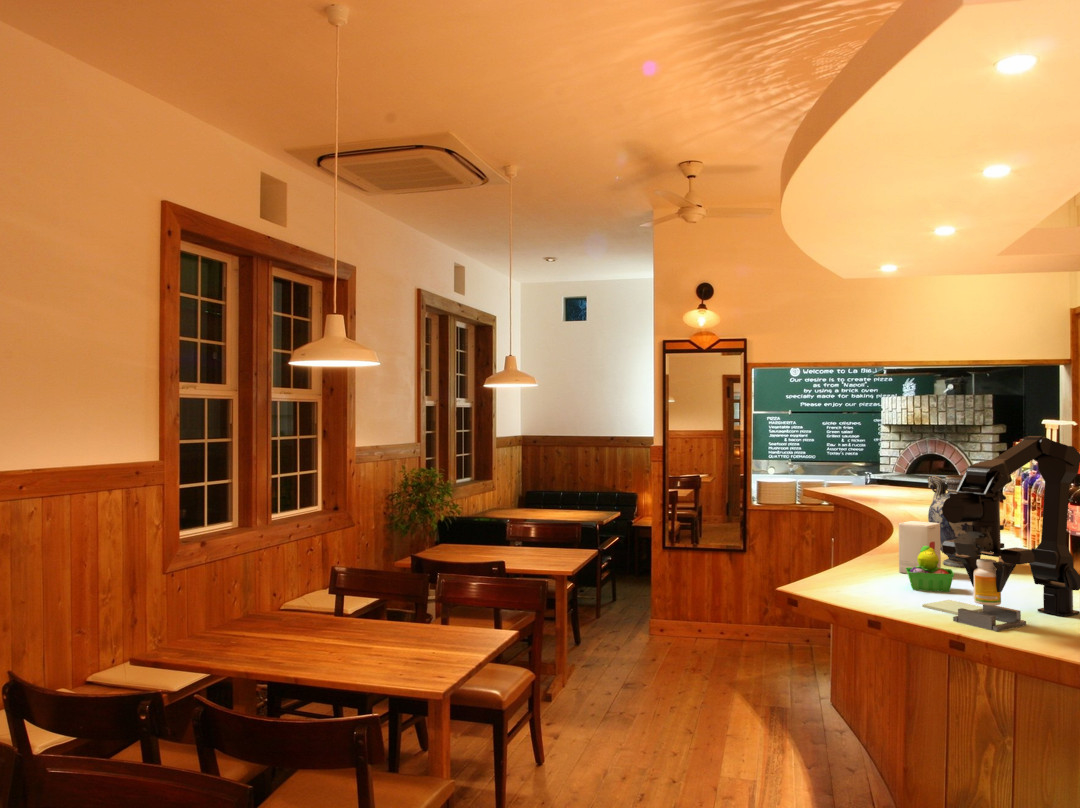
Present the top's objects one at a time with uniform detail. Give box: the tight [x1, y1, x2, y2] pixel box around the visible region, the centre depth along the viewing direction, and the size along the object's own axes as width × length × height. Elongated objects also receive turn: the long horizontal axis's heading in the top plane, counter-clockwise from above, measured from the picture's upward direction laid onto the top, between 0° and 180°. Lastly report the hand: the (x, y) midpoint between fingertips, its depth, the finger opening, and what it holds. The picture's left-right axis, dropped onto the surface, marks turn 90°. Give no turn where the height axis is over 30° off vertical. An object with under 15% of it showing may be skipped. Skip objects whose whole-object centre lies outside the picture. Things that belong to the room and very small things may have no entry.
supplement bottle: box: [973, 558, 1002, 606], centre depth 185 cm, size 5×5×10 cm
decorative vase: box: [927, 474, 980, 569], centre depth 256 cm, size 21×19×28 cm
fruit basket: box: [906, 546, 955, 593], centre depth 222 cm, size 11×9×11 cm
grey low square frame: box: [952, 605, 1027, 632], centre depth 185 cm, size 10×10×3 cm
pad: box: [921, 599, 983, 616], centre depth 199 cm, size 10×10×1 cm
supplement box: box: [898, 520, 942, 575], centre depth 244 cm, size 9×9×15 cm
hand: (987, 589), depth 185 cm, fingers closed on supplement bottle, 5 cm apart
